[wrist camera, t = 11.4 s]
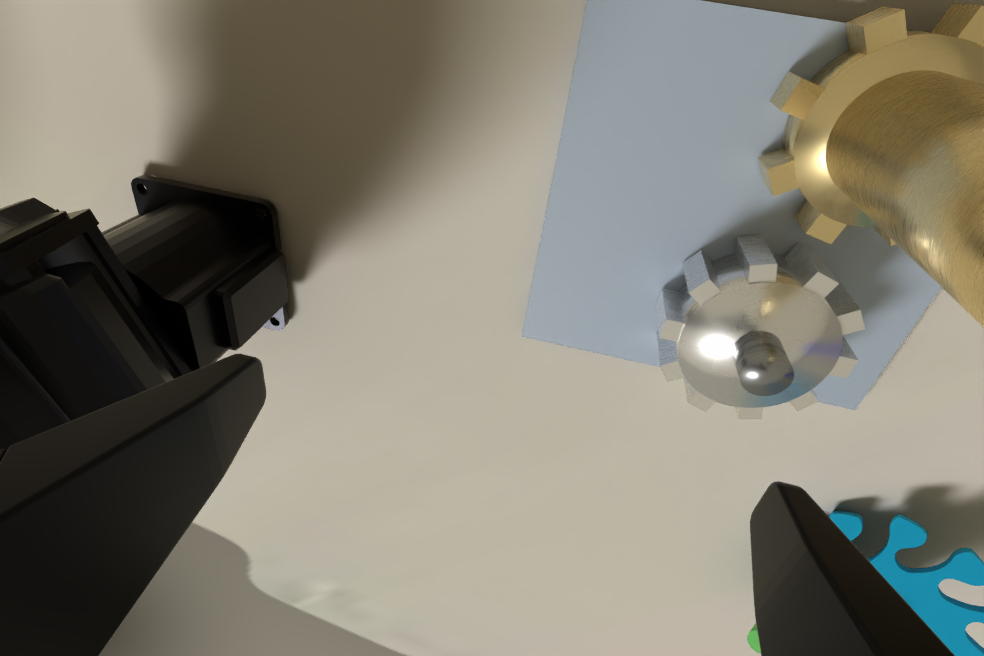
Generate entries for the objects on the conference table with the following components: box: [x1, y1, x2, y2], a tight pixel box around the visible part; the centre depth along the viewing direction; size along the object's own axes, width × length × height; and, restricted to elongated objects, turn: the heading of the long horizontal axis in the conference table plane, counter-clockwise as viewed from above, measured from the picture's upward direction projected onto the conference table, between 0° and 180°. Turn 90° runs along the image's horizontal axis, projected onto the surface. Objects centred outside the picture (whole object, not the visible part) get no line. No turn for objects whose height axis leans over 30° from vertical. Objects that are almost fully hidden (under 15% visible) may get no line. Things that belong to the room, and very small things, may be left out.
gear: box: [747, 511, 984, 656], centre depth 26 cm, size 11×6×10 cm
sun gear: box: [656, 235, 865, 419], centre depth 19 cm, size 6×6×4 cm
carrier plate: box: [522, 0, 941, 410], centre depth 19 cm, size 14×13×1 cm
